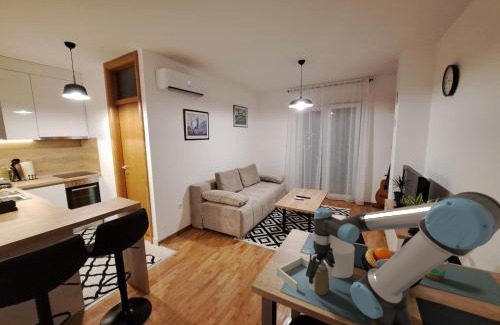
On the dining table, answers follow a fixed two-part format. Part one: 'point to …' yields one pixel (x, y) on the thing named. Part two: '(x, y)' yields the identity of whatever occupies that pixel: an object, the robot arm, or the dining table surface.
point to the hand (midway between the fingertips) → (320, 283)
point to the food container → (438, 272)
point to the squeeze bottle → (321, 279)
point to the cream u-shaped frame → (288, 267)
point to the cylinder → (342, 256)
